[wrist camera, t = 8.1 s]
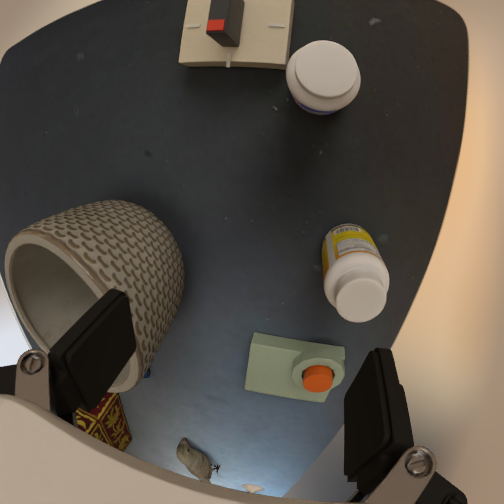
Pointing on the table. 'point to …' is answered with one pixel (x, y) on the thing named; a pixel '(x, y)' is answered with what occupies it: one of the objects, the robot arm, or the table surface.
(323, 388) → the button
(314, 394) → the block
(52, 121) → the table surface
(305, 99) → the pill bottle
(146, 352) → the planter
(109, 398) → the decorative box
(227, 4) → the program dial
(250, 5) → the dial panel
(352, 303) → the supplement bottle
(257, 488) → the champagne flute
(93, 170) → the table surface
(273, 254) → the table surface
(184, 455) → the decorative bird
